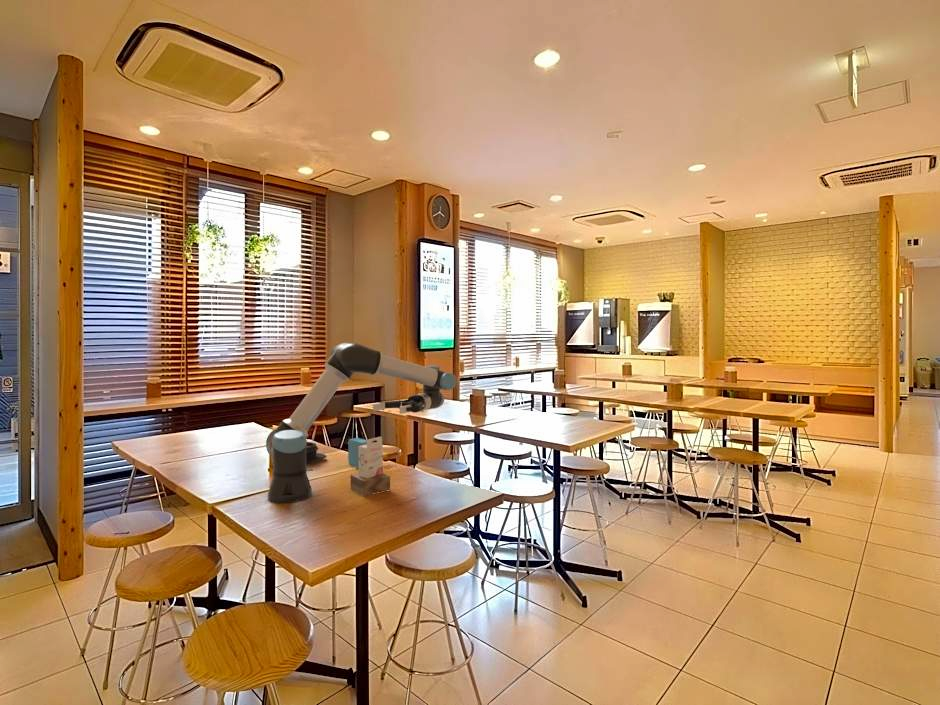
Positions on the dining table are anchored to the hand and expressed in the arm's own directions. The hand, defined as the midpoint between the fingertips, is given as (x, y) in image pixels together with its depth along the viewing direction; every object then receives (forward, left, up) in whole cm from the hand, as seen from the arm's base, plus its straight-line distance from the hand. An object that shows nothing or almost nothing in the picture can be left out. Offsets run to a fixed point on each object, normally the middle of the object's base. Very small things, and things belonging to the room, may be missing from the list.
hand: (386, 409), depth 199 cm
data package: (+14, +28, -30) cm, 44 cm away
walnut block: (-10, 0, -30) cm, 32 cm away
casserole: (+4, +56, -30) cm, 64 cm away
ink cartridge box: (-9, 0, -25) cm, 26 cm away
